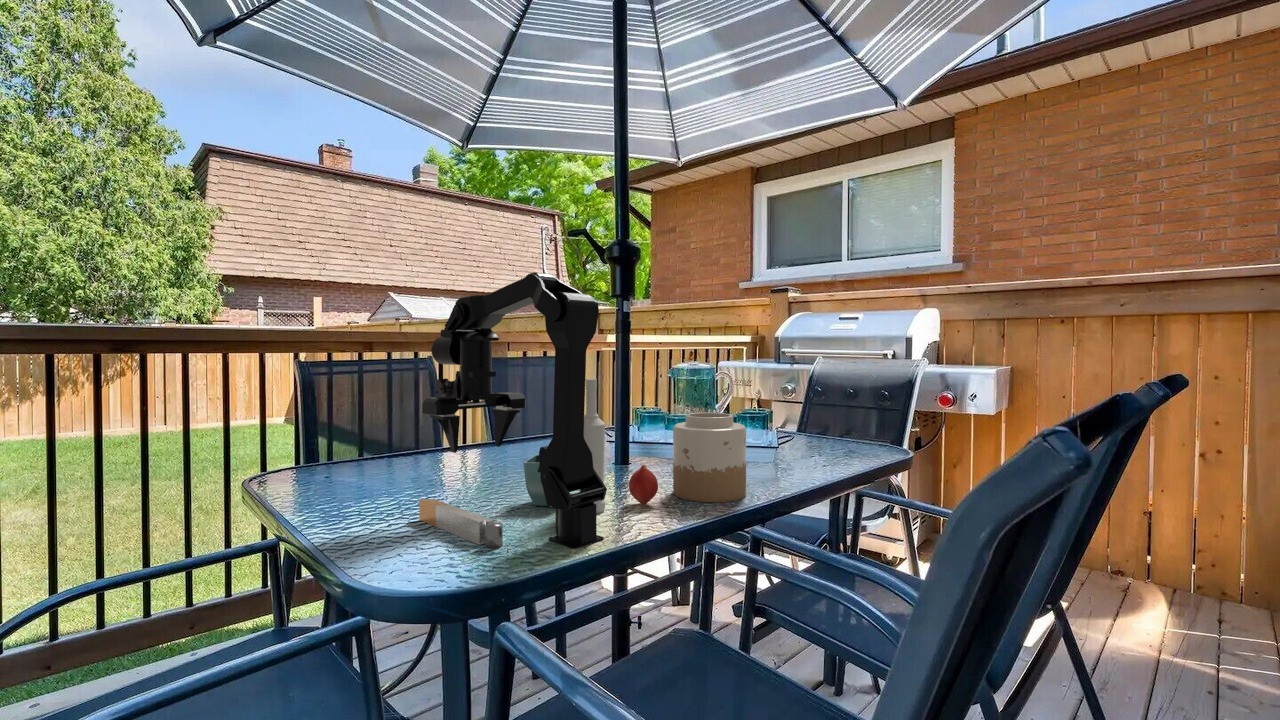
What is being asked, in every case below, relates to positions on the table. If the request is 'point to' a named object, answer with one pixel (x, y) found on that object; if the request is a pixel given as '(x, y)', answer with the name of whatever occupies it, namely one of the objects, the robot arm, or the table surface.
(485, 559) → the table surface
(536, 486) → the flower pot
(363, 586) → the table surface
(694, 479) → the vase
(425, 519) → the tong arm
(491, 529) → the base
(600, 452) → the bottle
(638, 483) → the onion
